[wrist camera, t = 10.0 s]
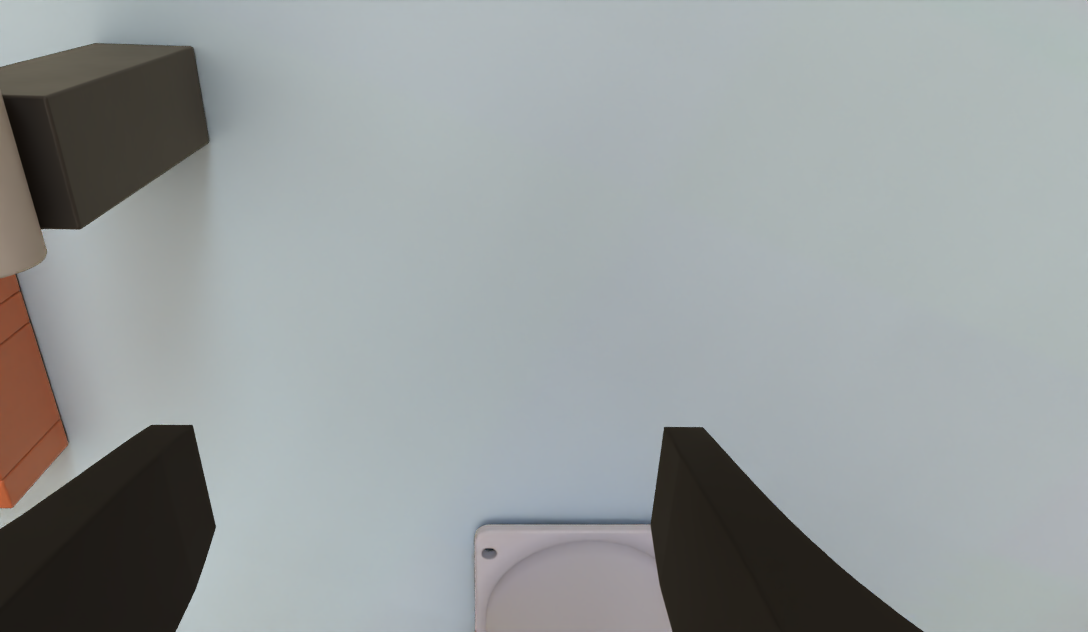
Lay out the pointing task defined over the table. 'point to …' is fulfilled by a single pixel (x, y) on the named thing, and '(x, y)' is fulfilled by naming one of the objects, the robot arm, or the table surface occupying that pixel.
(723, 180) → the table surface
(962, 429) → the table surface
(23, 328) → the holder
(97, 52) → the block with cylinder
